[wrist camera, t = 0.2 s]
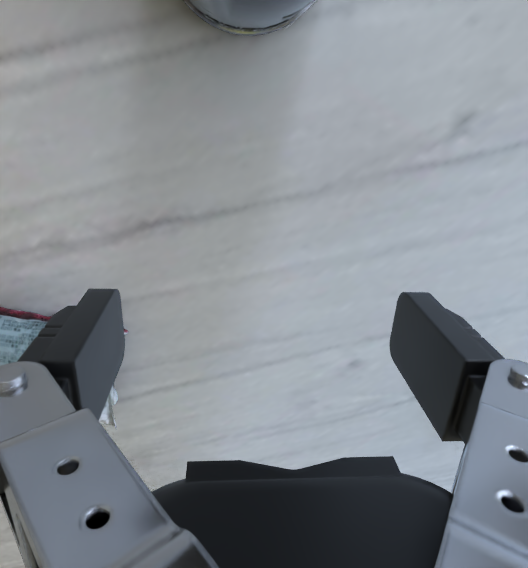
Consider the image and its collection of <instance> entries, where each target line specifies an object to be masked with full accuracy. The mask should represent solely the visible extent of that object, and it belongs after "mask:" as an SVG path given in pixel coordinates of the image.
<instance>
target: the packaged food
mask: <svg viewBox="0 0 528 568" xmlns="http://www.w3.org/2000/svg"><path fill="white" fill-rule="evenodd" d="M51 317H52V316H50V317H47V316H43V315H40V314H37V313H31V312H25V311H19V310H12V309H6V308H4V307H0V366H1V365H4V364H8V363H13V362H17V361H18V359H19V358H20V357H21V355H22V354H23V353H24V352H25V350H26V349H27V348H28V347H29V345H30V344H31V343H32V341H33V340H34V339H35V338H36V337H38V334H39V332H40V331H41V330H42V329H43V328H45V325H46V323H47V322H48V321H49V320H50V318H51ZM126 334H128V331H127V330H125V329H124V335H126ZM117 400H118V396H117V392H116V389H114V383H113V386H112V389H111V391H110V394H109V396H108V399H107V401H106V404H105V406H104V409H103V412H102V414H101V417H100V419H99V422H100V424H105V425H114V426H115V428H116V423H115V419H114V415H113V410H112V404H113V405H115V403H116V402H117Z"/></svg>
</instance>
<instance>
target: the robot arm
mask: <svg viewBox="0 0 528 568" xmlns="http://www.w3.org/2000/svg"><path fill="white" fill-rule="evenodd" d="M183 1H184V2H185V4H186V5H187V6H188V7H189V8H190V9H191V10H192V11H193V12H194V13H195V14H196V15H197V16H199V17H200V18H201V19H203V20H204V21H205V22H207V23H208V24H210V25H212V26H214V27H216V28H218V29H220V30H222V31H225V32H228V33H232V34H236V35H244V36H256V35H263V34H268V33H271V32H274V31H277V30H279V29H281V28H283V27H285V26H287V25H289V24H290V23H291V24H292V23H293V21H295V20H296V19H298V18H299V17H300V16H301V15H302V14H303V13H304V12H305V11H306V10H308V9H309V8H310V7H311V6H312V3H313V2H314V1H315V0H183ZM317 1H318V0H317ZM317 1H316V2H317ZM291 24H290V25H291ZM290 25H289V26H290ZM289 26H288V27H289ZM124 348H125V338H124V328H123V318H122V308H121V298H120V293H119V291H118V289H88V290H87V292H86V293H85V295H84V296H83V298H82V299H81V300H80V302H79V303H78V305H77V306H67V307H66V308H64V309H62V310H61V311H59V312H57V313H56V314H54V315H53V316H52V317H51V318H50V320H49V321H48V322H47V323H46V325H45V328H43V329H42V330H41V331H40V332H39V334H38V337H36V338H35V339H34V340H33V341H32V343H31V344H30V345H29V347H28V348H27V349H26V350H25V352H24V353H23V354H22V355H21V357H20V358H19V359H18V361H17V362H13V363H8V364H4V365H1V366H0V500H1V503H2V506H3V508H4V511H5V514H6V516H7V519H8V522H9V524H10V527H11V530H12V532H13V535H14V538H15V540H16V543H17V546H18V548H19V551H20V554H21V556H22V559H23V562H24V565H25V568H528V363H526V362H523V361H518V360H512V359H505V358H504V357H503V356H502V355H501V354H499V353H498V352H497V351H496V350H495V349H494V348H493V347H492V346H491V345H490V344H489V343H488V342H487V341H486V340H485V339H484V338H481V335H480V334H479V333H478V332H477V331H476V330H475V329H472V326H471V325H469V324H468V323H467V322H466V321H465V320H464V319H463V318H462V317H460V316H459V315H457V314H455V313H453V312H451V311H450V310H448V309H445V308H444V307H443V306H442V305H441V304H440V303H439V302H438V301H437V300H436V299H435V298H434V297H433V296H432V295H431V294H430V293H425V292H403V293H401V294H400V296H399V298H398V301H397V306H396V311H395V316H394V321H393V327H392V332H391V337H390V353H391V357H392V359H393V361H394V363H395V364H396V366H397V368H398V369H399V371H400V373H401V374H402V376H403V378H404V379H405V381H406V382H407V384H408V386H409V387H410V389H411V391H412V392H413V394H414V395H415V397H416V399H417V400H418V402H419V404H420V405H421V407H422V409H423V410H424V412H425V413H426V415H427V417H428V418H429V420H430V422H431V423H432V425H433V427H434V428H435V430H436V431H437V433H438V435H439V436H440V438H441V440H442V441H463V442H464V443H465V446H464V449H463V453H462V456H461V459H460V463H459V466H458V470H457V473H456V476H455V480H454V483H453V487H452V490H451V493H450V492H448V491H447V490H445V489H443V488H441V487H439V486H437V485H435V484H433V483H431V482H428V481H426V480H423V479H421V478H418V477H414V476H411V475H407V474H403V473H400V471H399V469H398V466H397V464H396V462H395V460H394V457H393V456H390V457H350V458H341V459H337V460H333V461H329V462H325V463H321V464H317V465H314V466H310V467H306V468H302V469H297V470H290V469H284V468H279V467H273V466H268V465H262V464H257V463H252V462H246V461H241V460H233V461H194V462H187V471H186V479H183V480H179V481H176V482H173V483H170V484H168V485H165V486H163V487H161V488H159V489H157V490H154V491H152V492H151V491H150V490H149V489H148V487H147V486H146V485H145V483H144V482H143V480H142V479H141V478H140V476H139V475H138V474H137V472H136V471H135V470H134V468H133V467H132V466H131V464H130V463H129V462H128V460H127V459H126V457H125V456H124V455H123V453H122V452H121V451H120V449H119V448H118V447H117V445H116V444H115V443H114V441H113V440H112V439H111V437H110V436H109V434H108V433H107V432H106V430H105V429H104V428H103V426H102V425H101V424H100V422H99V419H100V417H101V414H102V412H103V409H104V406H105V404H106V401H107V399H108V396H109V394H110V391H111V389H112V386H113V383H114V381H115V378H116V376H117V373H118V371H119V368H120V366H121V363H122V360H123V356H124Z"/></svg>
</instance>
